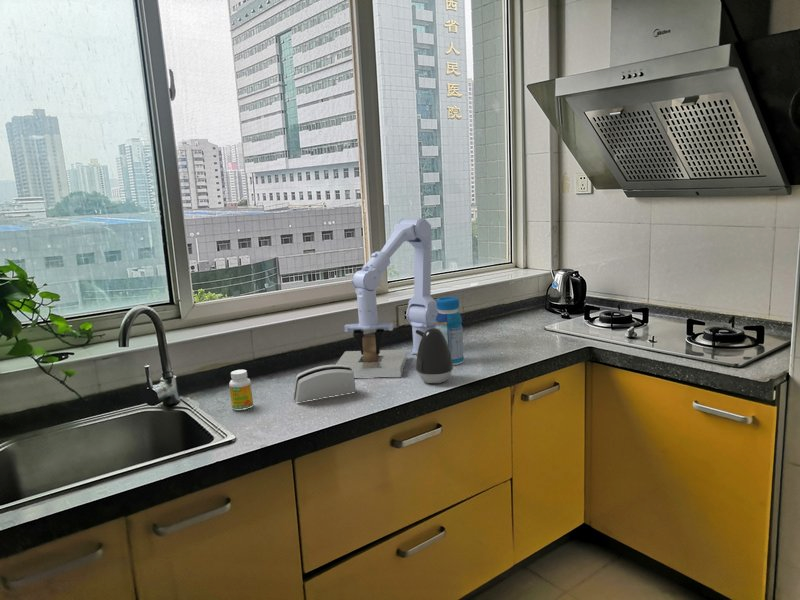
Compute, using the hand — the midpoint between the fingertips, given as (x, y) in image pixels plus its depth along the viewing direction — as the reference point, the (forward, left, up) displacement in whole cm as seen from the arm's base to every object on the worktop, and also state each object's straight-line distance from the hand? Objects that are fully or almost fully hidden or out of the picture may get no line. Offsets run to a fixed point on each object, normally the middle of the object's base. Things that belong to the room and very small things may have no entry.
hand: (370, 353), depth 183 cm
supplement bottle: (+29, +32, -5) cm, 43 cm away
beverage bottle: (-24, -4, -5) cm, 25 cm away
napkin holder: (+8, +25, -5) cm, 27 cm away
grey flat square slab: (0, 0, -5) cm, 5 cm away
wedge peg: (0, 0, -3) cm, 3 cm away
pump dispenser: (-20, +14, -5) cm, 25 cm away
